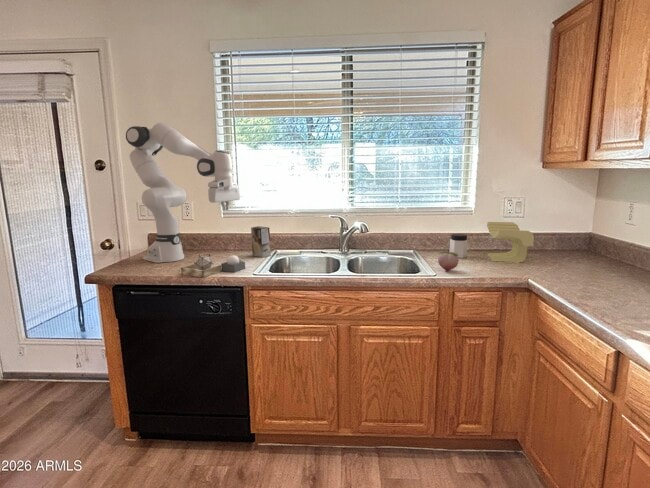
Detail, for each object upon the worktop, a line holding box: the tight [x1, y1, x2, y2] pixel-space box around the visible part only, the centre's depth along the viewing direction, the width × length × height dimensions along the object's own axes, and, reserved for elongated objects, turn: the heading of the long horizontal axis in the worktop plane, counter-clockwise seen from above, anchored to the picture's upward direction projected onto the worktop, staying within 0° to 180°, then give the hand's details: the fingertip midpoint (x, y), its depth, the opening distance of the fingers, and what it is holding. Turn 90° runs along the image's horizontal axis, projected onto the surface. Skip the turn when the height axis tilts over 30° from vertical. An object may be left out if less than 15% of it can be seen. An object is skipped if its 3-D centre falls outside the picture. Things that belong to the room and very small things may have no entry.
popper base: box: [220, 260, 246, 273], centre depth 187 cm, size 8×8×4 cm
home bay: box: [180, 263, 222, 278], centre depth 182 cm, size 14×12×3 cm
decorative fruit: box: [437, 249, 459, 272], centre depth 181 cm, size 9×8×10 cm
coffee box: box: [250, 225, 272, 258], centre depth 217 cm, size 9×6×16 cm
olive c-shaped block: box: [486, 221, 535, 263], centre depth 202 cm, size 30×16×18 cm, turn 167°
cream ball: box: [226, 254, 240, 265], centre depth 187 cm, size 6×6×7 cm
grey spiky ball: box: [193, 254, 215, 270], centre depth 184 cm, size 9×8×10 cm
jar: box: [449, 233, 469, 259], centre depth 210 cm, size 9×8×12 cm
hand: (225, 210), depth 200 cm, fingers closed
